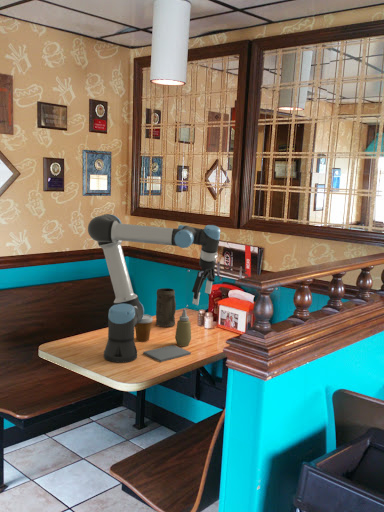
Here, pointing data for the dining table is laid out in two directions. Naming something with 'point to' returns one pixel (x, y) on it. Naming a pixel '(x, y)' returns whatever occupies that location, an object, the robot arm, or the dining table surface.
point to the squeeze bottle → (183, 330)
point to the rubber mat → (166, 353)
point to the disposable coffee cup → (143, 328)
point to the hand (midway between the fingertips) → (201, 298)
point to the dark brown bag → (165, 307)
